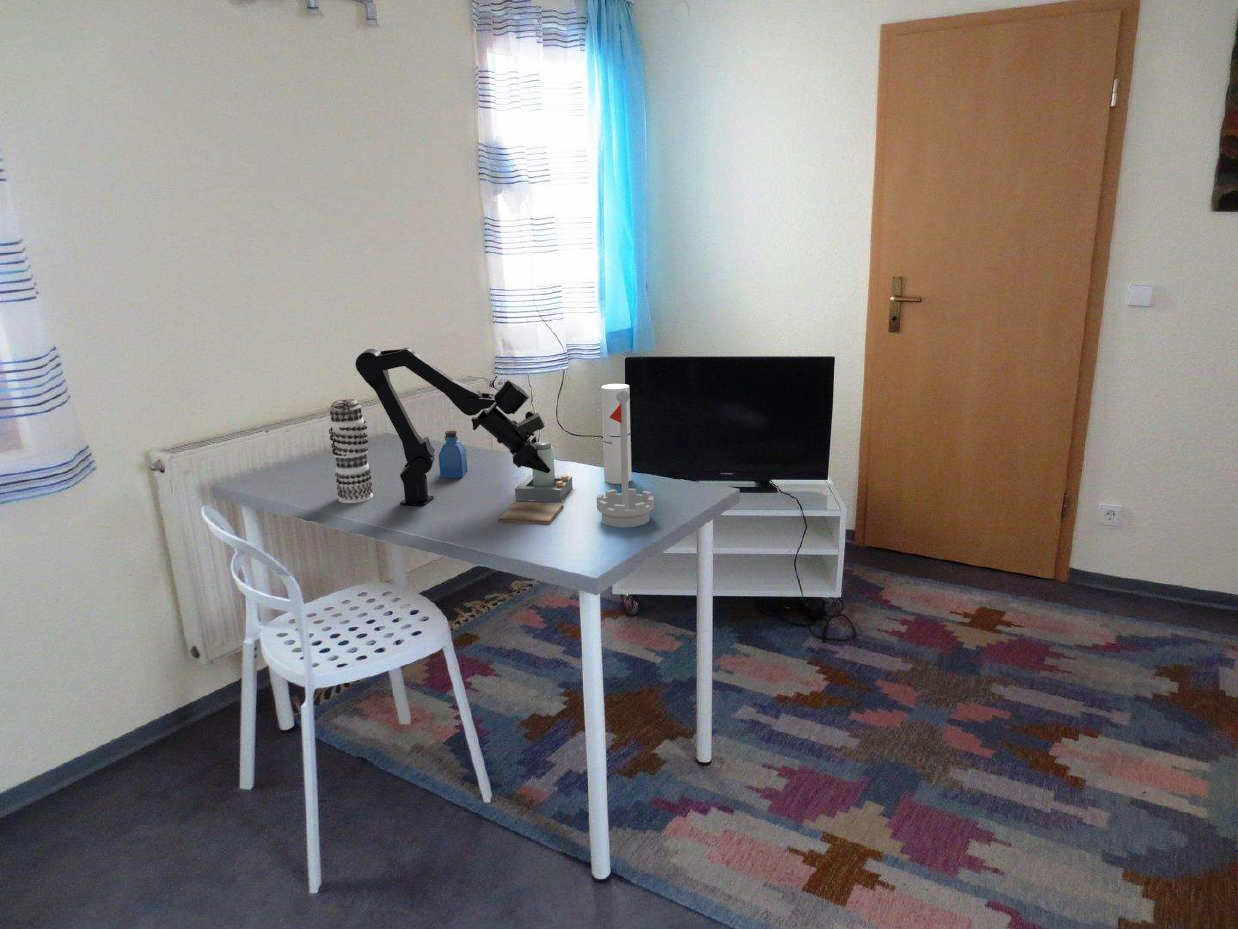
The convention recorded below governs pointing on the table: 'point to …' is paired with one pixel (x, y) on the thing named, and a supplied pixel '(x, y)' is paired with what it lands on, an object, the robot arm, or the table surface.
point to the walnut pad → (531, 512)
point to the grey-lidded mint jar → (548, 457)
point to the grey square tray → (544, 490)
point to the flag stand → (624, 484)
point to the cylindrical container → (614, 434)
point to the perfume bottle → (452, 457)
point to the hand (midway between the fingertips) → (548, 468)
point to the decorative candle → (350, 451)
